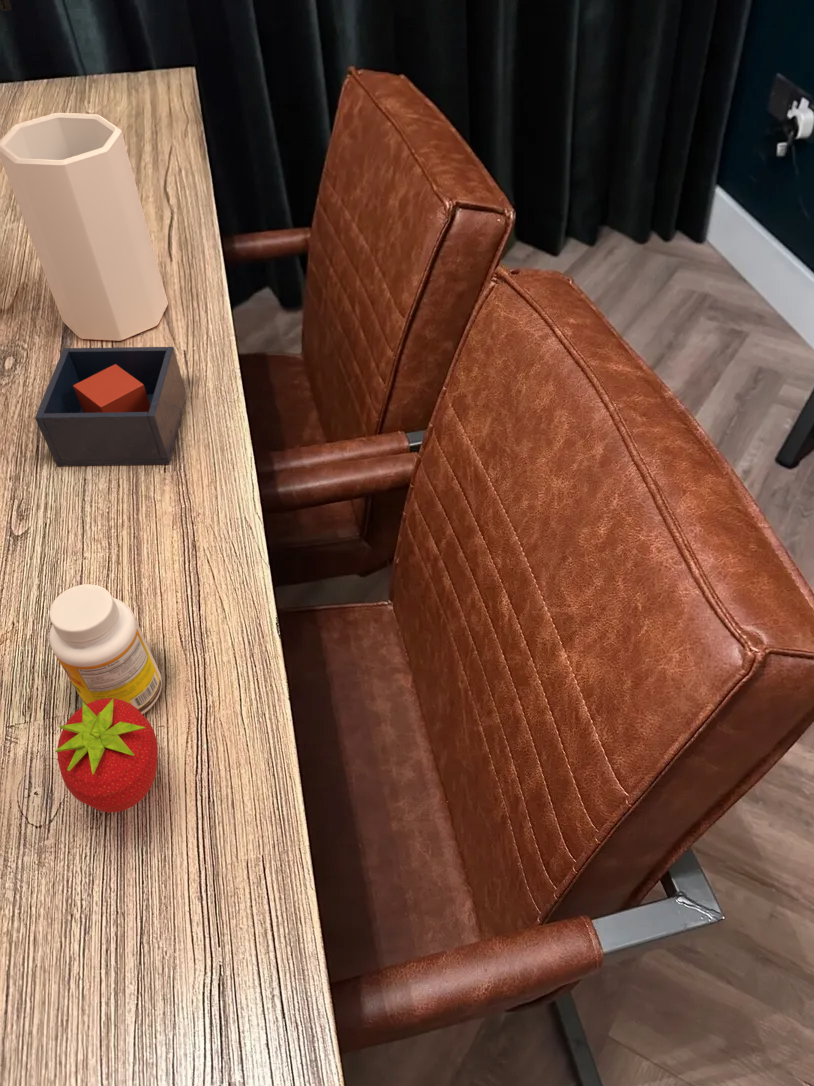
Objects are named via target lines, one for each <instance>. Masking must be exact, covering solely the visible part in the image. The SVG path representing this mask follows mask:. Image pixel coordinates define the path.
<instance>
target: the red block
mask: <svg viewBox="0 0 814 1086" xmlns="http://www.w3.org/2000/svg"><path fill="white" fill-rule="evenodd" d="M73 387H74V390H75V392H76V395H77V397H78V400H79V402H80V405H81V407H82V410H83V412H84V413H107V412H148V413H149V409H150V403H149V400H148V397H147V394H146V391H145V387H144V385H143V384H142V383H141V382H139V381H138V380H137V379H135V378H134V377H133V376H131V375H130V374H128V373H127V372H126V371H124V370H123V369H122V368H120V367H119V366H118V365H116V364H115V365H113V366H111V367H109V368H107V369H105V370H103V371H101V372H99V373H97V374H95V375H93V376H91V377H89V378H87V379H85V380H83V381H81V382H79V383H77V384H75V385H73Z"/></svg>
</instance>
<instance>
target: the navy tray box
mask: <svg viewBox="0 0 814 1086" xmlns="http://www.w3.org/2000/svg"><path fill="white" fill-rule="evenodd" d="M60 353H61V354H60V356H59V358H58V361H57V363H56V366H55V368H54V370H53V373H52V375H51V377H50V380H49V382H48V385H47V387H46V389H45V392H44V395H43V396H42V399H41V402H40V404H39V407H38V409H37V411H36V414H35V416H34V419H35V421H36V423H37V425H38V428H39V430H40V432H41V435H42V437H43V439H44V441H45V443H46V446H47V448H48V450H49V452H50V454H51V457H52V459H53V461H54V463H55V465H56V467H89V466H90V467H93V466H95V467H97V466H98V467H99V466H149V465H150V466H151V465H152V466H153V465H156V464H157V465H170V464H171V461H172V456H173V453H174V452H173V451H174V447H175V444H176V439H177V435H178V431H179V428H180V424H181V420H182V416H183V411H184V407H185V404H186V399H187V391H186V387H185V384H184V380H183V376H182V373H181V369H180V365H179V362H178V359H177V355H176V351H175V348H174V346H131V347H130V346H124V347H123V346H122V347H121V346H118V347H117V346H116V347H115V346H114V347H63V349H62V351H61V352H60ZM115 364H116V365H118V366H119V367H120V368H122V369H123V370H124V371H126V372H127V373H128V374H130V375H131V376H133V377H134V378H135V379H137V380H138V381H139V382H141V383H142V384H143V385H144V387H145V391H146V394H147V397H148V400H149V403H150V409H149V413H148V412H107V413H84V412H83V410H82V407H81V405H80V402H79V400H78V397H77V395H76V392H75V390H74V387H73V385H75V384H77V383H79V382H81V381H83V380H85V379H87V378H89V377H91V376H93V375H95V374H97V373H99V372H101V371H103V370H105V369H107V368H109V367H111V366H113V365H115ZM157 465H156V466H157Z"/></svg>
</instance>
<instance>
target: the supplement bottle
mask: <svg viewBox="0 0 814 1086" xmlns="http://www.w3.org/2000/svg"><path fill="white" fill-rule="evenodd" d="M48 613H49V620H50V622H51V627H50V630H49V637H48V639H49V646H50V648H51V650H52V652H53V654H54V656H55V658H56V659H57V661H58V663H59V664H60V666H61V667H62V669H63V670H64V672H65V674H66V675H67V677H68V679H69V680H70V683H71V684H72V686H73V687H74V689H75V690H76V692H77V694H78V695H79V697H80V699H81V700H82V703H83V702H84V703H85V704H88V703H90V702H93V701H95V700H99V699H104V698H115V699H120V700H123V701H126V702H128V703H130V704H131V705H133V706H134V707H136V708H137V709H138V710H139V711H140V712H141V713H142V714H143V715H144V714H145V713H146V712H148V711H149V710H150V709H151V708H152V707H153V706H154V705H155V704H156V702H157V701H158V698H159V696H160V695H161V691H162V688H163V678H162V675H161V672H160V670H159V666H158V665H157V663H156V660H155V658H154V656H153V654H152V651H151V649H150V646H149V644H148V642H147V640H146V638H145V636H144V634H143V631H142V629H141V626H140V624H139V622H138V620H137V618H136V615H135V613H134V612H133V610H132V608H131V607H129V606H128V605H127V603H125V602H124V601H122V600H120V599H118V598H115V597H113V596H112V594H111V593H110V591H108V590H107V589H106V588H105V587H103V586H101V585H98V584H92V583H91V584H90V583H86V584H85V583H84V584H79V585H75V586H72V587H70V588H67V589H66V590H64V591H63V592H61V593H60V594H59V595H57V596H56V597H55V599H54V600H53V602H52V603H51V605H50V608H49V612H48Z"/></svg>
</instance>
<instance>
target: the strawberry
mask: <svg viewBox="0 0 814 1086" xmlns="http://www.w3.org/2000/svg"><path fill="white" fill-rule="evenodd" d="M58 728H59V729H62V730H61V733H60V736H59V738H58V741H57V742H58V743H57V748H56V749H55V750H54V752H55V753H57V754H56V755H57V763H58V768H59V771H60V775H61V778H62V781H63V783H64V785H65V787H66V789H67V790H68V791H69V793H71V795H72V796H73V797H74V798H75V799H76V800H78V801H79V802H80V803H83V804H85V805H87V806H89V807H91V808H93V809H95V810H97V811H99V812H103V813H119V812H123V811H127V810H129V809H131V808H133V807H134V806H136V805H138V804H139V803H140V802H141V801H142V800H143V799H144V798H145V797H146V796H147V794H148V793H149V791H150V790H151V788H152V787H153V785H154V782H155V779H156V775H157V771H158V752H159V751H158V750H159V747H158V741H157V736H156V732H155V730H154V728H153V726H152V724H151V723H150V721H149V719H147V718H146V716H145V715H144V713H143V714H142V713H141V712H140V711H139V710H138V709H137V708H136V707H134V706H133V705H131V704H130V703H128V702H126V701H123V700H120V699H115V698H104V699H99V700H95V701H93V702H90V703H88V704H85V703H84V702H83V701H82V706H81V707H80V708H79V709H78V710H76V711H75V712H74V713H73V714H72V715H71V716H70V718H69V719H68V720H67V721H66V723H65V725H64V724H63V725H59V727H58Z"/></svg>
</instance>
